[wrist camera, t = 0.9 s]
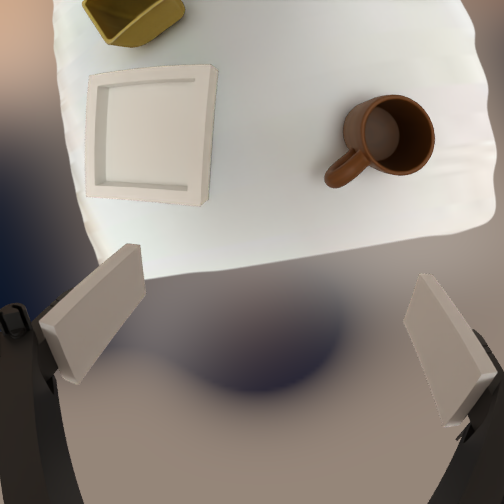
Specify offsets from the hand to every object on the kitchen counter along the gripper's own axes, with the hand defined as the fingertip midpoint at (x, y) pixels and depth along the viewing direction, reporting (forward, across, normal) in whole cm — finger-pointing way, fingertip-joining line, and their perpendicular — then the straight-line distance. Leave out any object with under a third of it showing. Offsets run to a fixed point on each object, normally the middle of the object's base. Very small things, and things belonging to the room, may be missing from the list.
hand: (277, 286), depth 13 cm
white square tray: (+24, -17, +6) cm, 30 cm away
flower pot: (+24, -18, +22) cm, 37 cm away
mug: (+24, +8, +6) cm, 26 cm away
